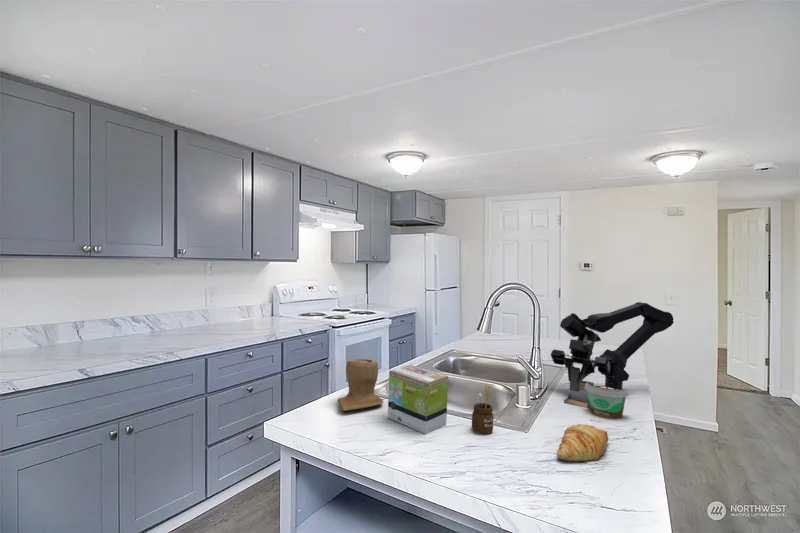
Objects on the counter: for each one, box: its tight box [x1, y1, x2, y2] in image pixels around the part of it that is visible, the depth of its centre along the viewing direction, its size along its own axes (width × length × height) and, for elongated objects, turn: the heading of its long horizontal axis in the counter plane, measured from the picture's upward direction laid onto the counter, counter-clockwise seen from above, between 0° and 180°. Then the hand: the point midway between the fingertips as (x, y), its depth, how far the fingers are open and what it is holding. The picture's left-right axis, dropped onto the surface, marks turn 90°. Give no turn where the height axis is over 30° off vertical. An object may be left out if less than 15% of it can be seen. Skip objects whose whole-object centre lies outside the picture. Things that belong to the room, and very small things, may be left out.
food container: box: [585, 383, 629, 420], centre depth 125 cm, size 12×6×10 cm, turn 62°
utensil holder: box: [471, 384, 494, 435], centre depth 114 cm, size 6×6×12 cm
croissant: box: [556, 423, 609, 462], centre depth 104 cm, size 21×10×8 cm, turn 127°
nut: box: [579, 383, 587, 391], centre depth 142 cm, size 4×4×4 cm
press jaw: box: [569, 366, 588, 402], centre depth 138 cm, size 3×6×10 cm, turn 57°
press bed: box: [563, 379, 595, 409], centre depth 140 cm, size 16×8×6 cm, turn 148°
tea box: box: [387, 364, 449, 435], centre depth 119 cm, size 15×10×15 cm, turn 47°
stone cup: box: [337, 358, 384, 412], centre depth 130 cm, size 15×12×15 cm
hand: (573, 381), depth 138 cm, fingers closed on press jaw, 2 cm apart
